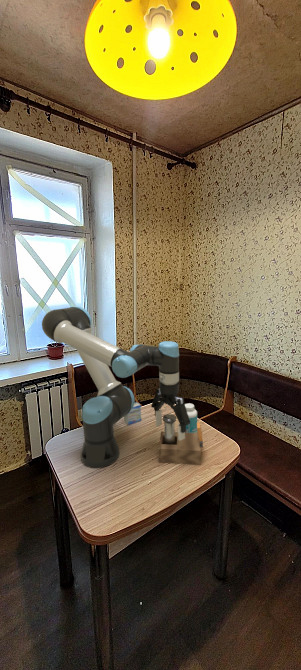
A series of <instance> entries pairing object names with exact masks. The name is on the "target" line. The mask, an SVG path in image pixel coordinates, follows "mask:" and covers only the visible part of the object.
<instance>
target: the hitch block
mask: <svg viewBox="0 0 301 670" xmlns="http://www.w3.org/2000/svg"><path fill="white" fill-rule="evenodd" d="M203 447H204V440H203V441H200V440H199V435H198V432H197V433H185V438H184V439H182V440H181V441H179V440H178V431H177V432H176V431H175V445H169V444H165V431H162V430H161V431H160V436H159V443H158V463H163V464H177V465H179V464H181V465H193V466H194V465H195V466H197V465H198V466H201V465H202V464H201V463H202V461H201V458H202V454H201V453H202V450H201V449H202V448H203Z"/></svg>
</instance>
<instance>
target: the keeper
mask: <svg viewBox="0 0 301 670" xmlns="http://www.w3.org/2000/svg"><path fill="white" fill-rule="evenodd" d="M197 433H198V435H199V440H200V441H203V442H204V440H203V432H202V427H201V422H200V421H199V422H198V421H197Z"/></svg>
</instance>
